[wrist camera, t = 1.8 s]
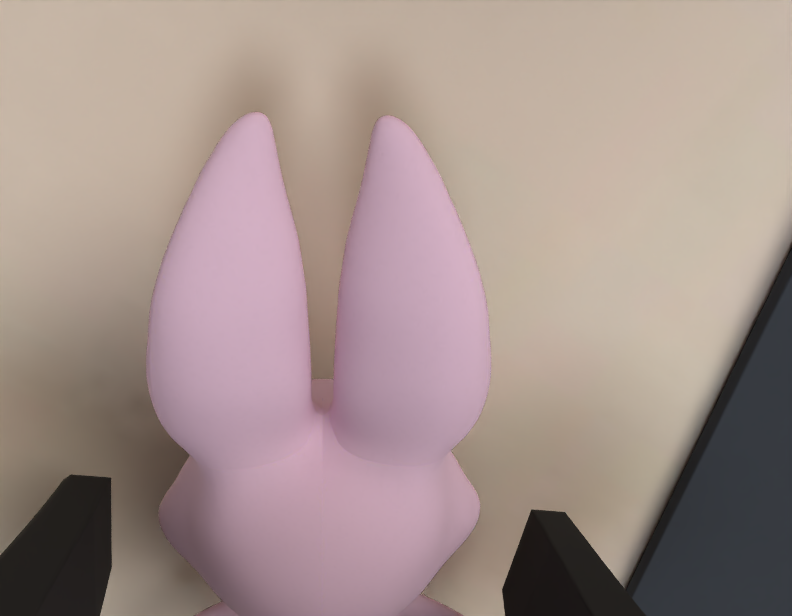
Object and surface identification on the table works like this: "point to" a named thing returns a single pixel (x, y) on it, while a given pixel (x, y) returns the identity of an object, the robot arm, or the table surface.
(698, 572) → the desk mat
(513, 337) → the table surface
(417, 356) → the rabbit figure
